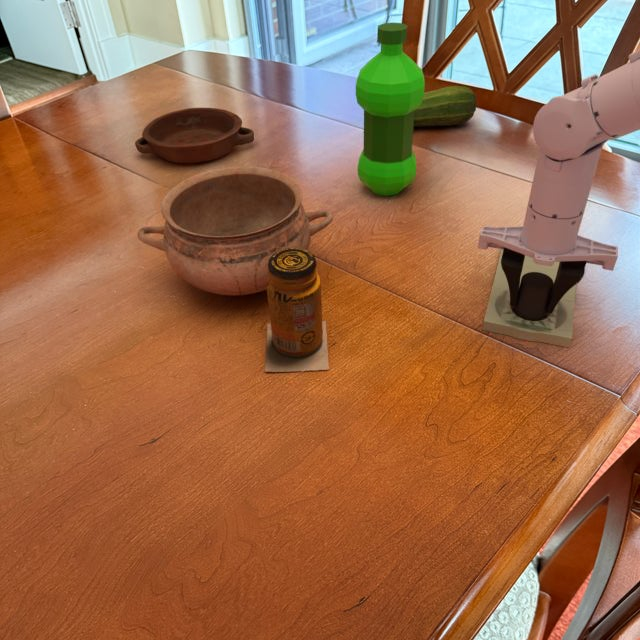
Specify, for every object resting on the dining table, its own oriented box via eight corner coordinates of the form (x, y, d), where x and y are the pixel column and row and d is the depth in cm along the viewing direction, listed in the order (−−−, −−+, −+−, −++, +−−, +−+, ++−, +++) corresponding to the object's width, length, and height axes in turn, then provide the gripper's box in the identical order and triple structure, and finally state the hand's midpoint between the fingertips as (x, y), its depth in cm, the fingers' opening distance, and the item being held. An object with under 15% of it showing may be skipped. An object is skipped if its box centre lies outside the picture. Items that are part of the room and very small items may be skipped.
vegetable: (480, 81, 112) (374, 89, 112) (480, 122, 114) (376, 130, 113) (469, 87, 119) (369, 95, 119) (469, 125, 121) (371, 132, 120)
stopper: (551, 315, 73) (560, 283, 70) (530, 327, 71) (538, 294, 68) (528, 300, 75) (536, 268, 72) (507, 311, 74) (514, 278, 70)
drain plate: (569, 349, 69) (572, 340, 68) (481, 331, 72) (483, 322, 71) (577, 254, 84) (579, 245, 83) (503, 242, 86) (505, 233, 85)
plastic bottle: (416, 173, 103) (428, 16, 87) (416, 204, 95) (429, 37, 79) (358, 172, 104) (359, 16, 88) (353, 203, 97) (353, 38, 80)
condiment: (325, 322, 75) (322, 240, 67) (328, 370, 68) (325, 286, 60) (267, 324, 75) (257, 243, 67) (265, 373, 68) (253, 290, 60)
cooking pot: (145, 333, 74) (119, 250, 66) (158, 248, 89) (138, 172, 81) (344, 312, 76) (343, 229, 68) (325, 232, 90) (323, 156, 82)
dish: (140, 137, 119) (134, 112, 116) (250, 125, 122) (248, 101, 118) (135, 177, 106) (128, 150, 103) (259, 163, 109) (256, 137, 105)
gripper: (480, 213, 63) (465, 312, 72) (631, 236, 59) (594, 338, 67) (490, 182, 68) (474, 279, 77) (629, 201, 64) (596, 301, 72)
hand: (531, 304), depth 72 cm, fingers closed on stopper, 4 cm apart
